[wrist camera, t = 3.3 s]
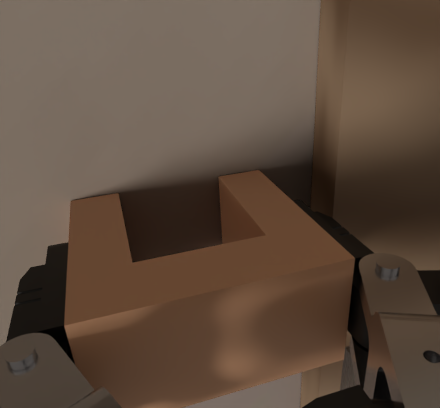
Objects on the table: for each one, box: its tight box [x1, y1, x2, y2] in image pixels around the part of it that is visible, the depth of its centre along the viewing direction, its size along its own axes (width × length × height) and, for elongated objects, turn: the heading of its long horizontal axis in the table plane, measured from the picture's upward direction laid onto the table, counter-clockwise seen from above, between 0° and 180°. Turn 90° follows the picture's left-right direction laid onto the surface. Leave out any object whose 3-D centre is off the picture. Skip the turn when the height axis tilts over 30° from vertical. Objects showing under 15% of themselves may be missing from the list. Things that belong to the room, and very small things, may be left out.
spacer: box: [64, 170, 355, 408], centre depth 11 cm, size 3×6×6 cm, turn 93°
